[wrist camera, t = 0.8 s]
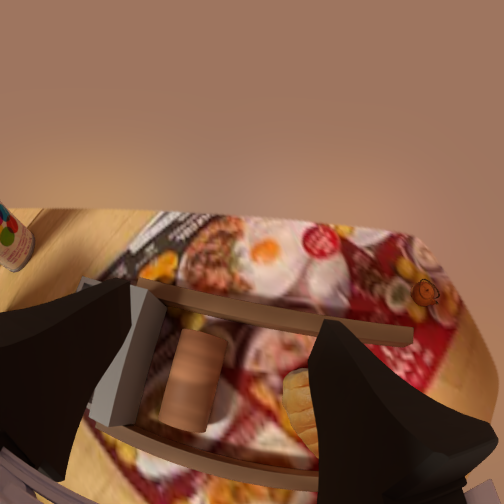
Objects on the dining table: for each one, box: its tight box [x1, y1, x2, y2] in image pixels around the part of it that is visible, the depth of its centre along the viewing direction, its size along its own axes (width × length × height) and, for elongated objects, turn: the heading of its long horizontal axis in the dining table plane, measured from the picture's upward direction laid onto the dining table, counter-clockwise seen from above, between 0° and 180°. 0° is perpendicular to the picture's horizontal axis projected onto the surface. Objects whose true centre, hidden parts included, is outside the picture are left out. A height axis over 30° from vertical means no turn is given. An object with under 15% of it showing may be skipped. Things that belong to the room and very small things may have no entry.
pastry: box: [282, 368, 319, 458], centre depth 19 cm, size 9×7×4 cm
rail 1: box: [136, 277, 414, 347], centre depth 24 cm, size 2×26×2 cm, turn 78°
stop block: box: [89, 285, 167, 427], centre depth 21 cm, size 12×2×5 cm, turn 167°
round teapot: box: [411, 279, 440, 306], centre depth 24 cm, size 3×3×3 cm
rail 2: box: [95, 421, 319, 492], centre depth 17 cm, size 2×26×2 cm, turn 77°
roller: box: [158, 329, 228, 433], centre depth 21 cm, size 8×4×4 cm, turn 167°
